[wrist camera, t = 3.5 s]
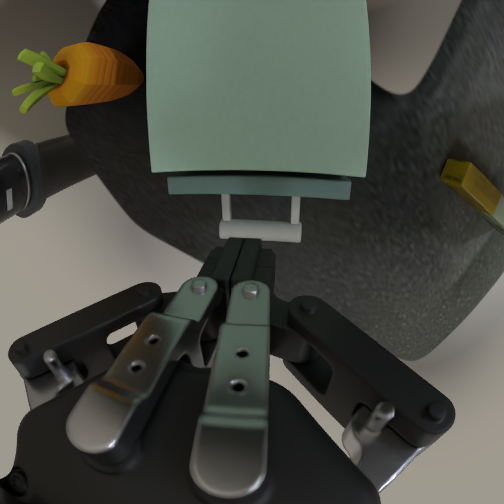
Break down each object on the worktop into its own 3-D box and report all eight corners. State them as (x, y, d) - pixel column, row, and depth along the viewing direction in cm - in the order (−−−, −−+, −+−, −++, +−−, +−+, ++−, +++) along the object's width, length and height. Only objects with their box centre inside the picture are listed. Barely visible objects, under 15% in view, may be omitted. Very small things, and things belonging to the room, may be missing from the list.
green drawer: (327, 219, 25) (340, 262, 18) (205, 214, 26) (175, 253, 19) (333, 27, 16) (351, -7, 9) (199, 29, 17) (163, 1, 11)
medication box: (504, 211, 21) (525, 222, 18) (496, 230, 22) (516, 243, 19) (447, 155, 20) (471, 161, 16) (437, 178, 21) (461, 187, 18)
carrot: (148, 111, 22) (25, 130, 9) (113, 93, 22) (-9, 106, 8) (172, 66, 20) (55, 40, 7) (134, 51, 19) (16, 31, 6)
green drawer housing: (337, 153, 22) (365, 177, 14) (198, 150, 24) (151, 172, 15) (337, 7, 15) (359, -42, 7) (197, 9, 17) (152, -31, 9)
